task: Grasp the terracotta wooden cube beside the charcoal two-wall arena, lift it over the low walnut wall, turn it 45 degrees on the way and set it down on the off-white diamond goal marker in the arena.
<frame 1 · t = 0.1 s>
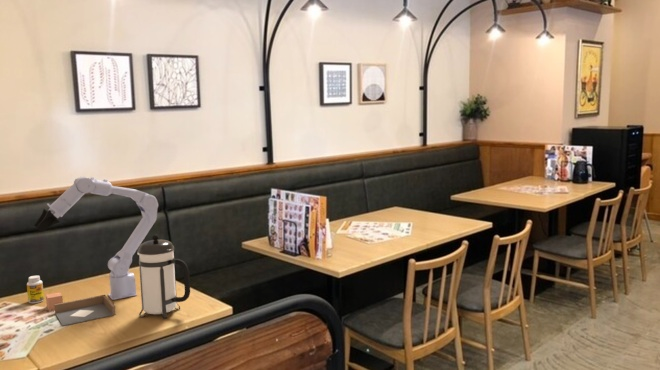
hand: (37, 228, 202), 32 cm above the table, tool tilted 50°, fingers open, 7 cm apart
arena: (85, 313, 203), on the table
coffee press: (163, 313, 203), on the table
cube: (55, 307, 210), on the table
supplement bottle: (36, 302, 217), on the table
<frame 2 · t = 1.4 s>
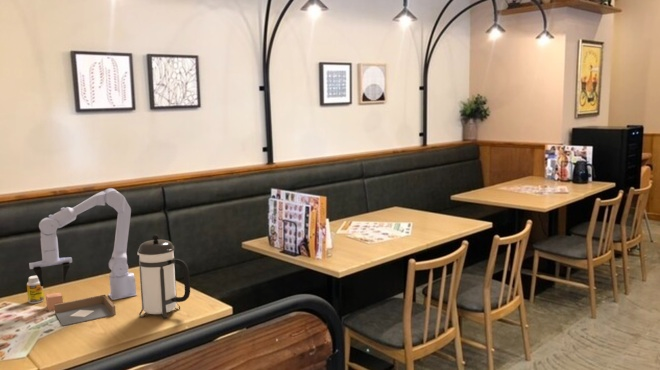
hand: (52, 283, 209), 9 cm above the table, tool pointing down, fingers open, 7 cm apart
nothing on the table moved.
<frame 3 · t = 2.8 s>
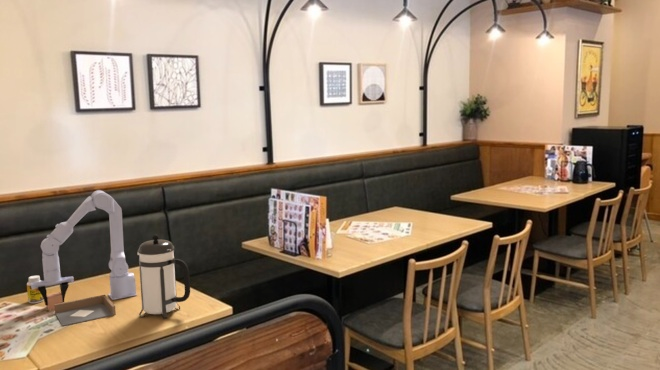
hand: (54, 303, 210), 2 cm above the table, tool pointing down, fingers closed on cube, 5 cm apart
cube: (55, 307, 210), on the table, touching gripper
everything else where it was.
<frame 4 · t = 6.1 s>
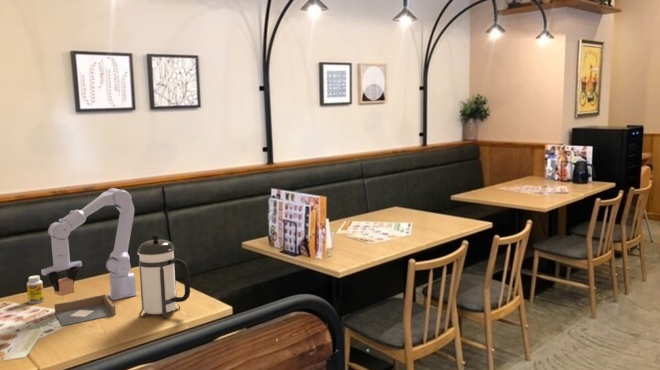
hand: (64, 288, 206), 8 cm above the table, tool pointing down, fingers closed on cube, 5 cm apart
cube: (64, 293, 206), point 7 cm above the table, touching gripper
everything else where it was.
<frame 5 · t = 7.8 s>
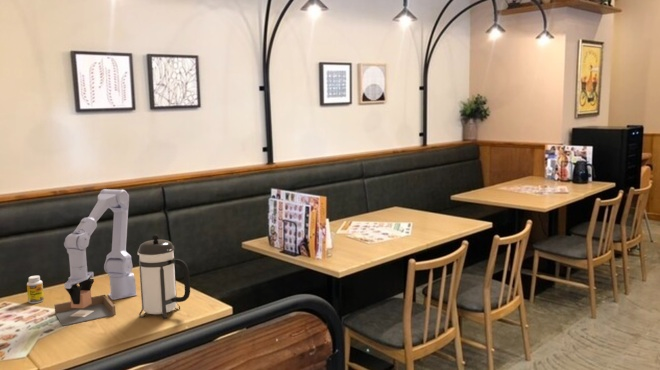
hand: (81, 301, 201), 5 cm above the table, tool pointing down, fingers closed on cube, 5 cm apart
cube: (81, 305, 202), point 3 cm above the table, touching gripper
everything else where it was.
when the fingers open (3 cm above the table, at t = 9.2 s): cube drops 1 cm, resting on arena.
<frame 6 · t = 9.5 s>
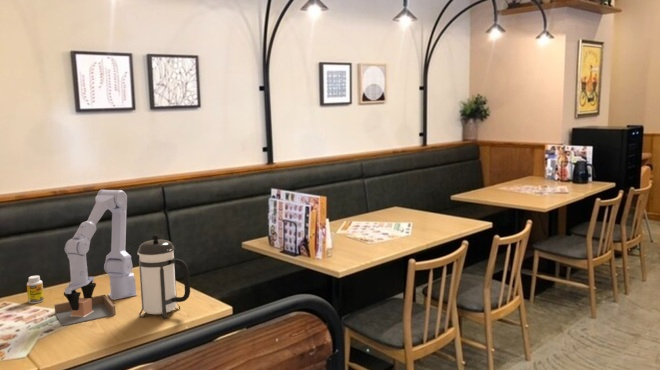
hand: (81, 306, 202), 3 cm above the table, tool pointing down, fingers open, 7 cm apart
cube: (82, 313, 202), resting on arena
everything else where it was.
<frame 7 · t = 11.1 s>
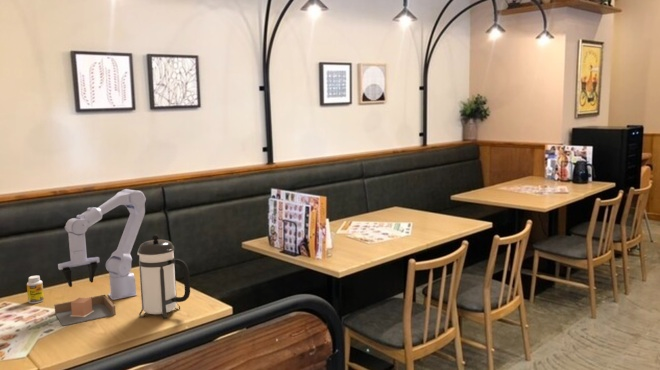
hand: (80, 284, 209), 9 cm above the table, tool pointing down, fingers open, 7 cm apart
nothing on the table moved.
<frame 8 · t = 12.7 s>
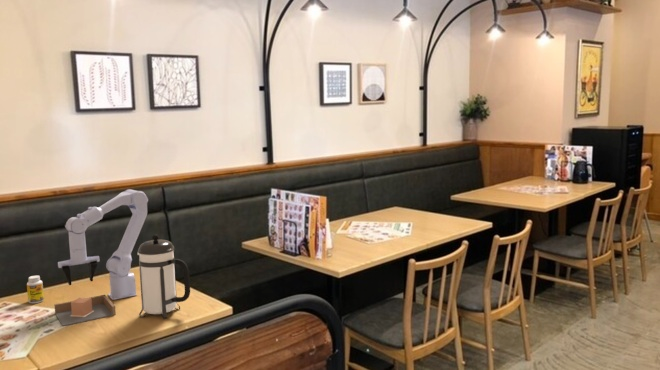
hand: (80, 282, 210), 9 cm above the table, tool pointing down, fingers open, 7 cm apart
nothing on the table moved.
at the end: cube 0.0 cm from the target spot on the arena, point 0.5 cm above the arena's base; cube tilted 0°; the gripper is holding nothing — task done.
